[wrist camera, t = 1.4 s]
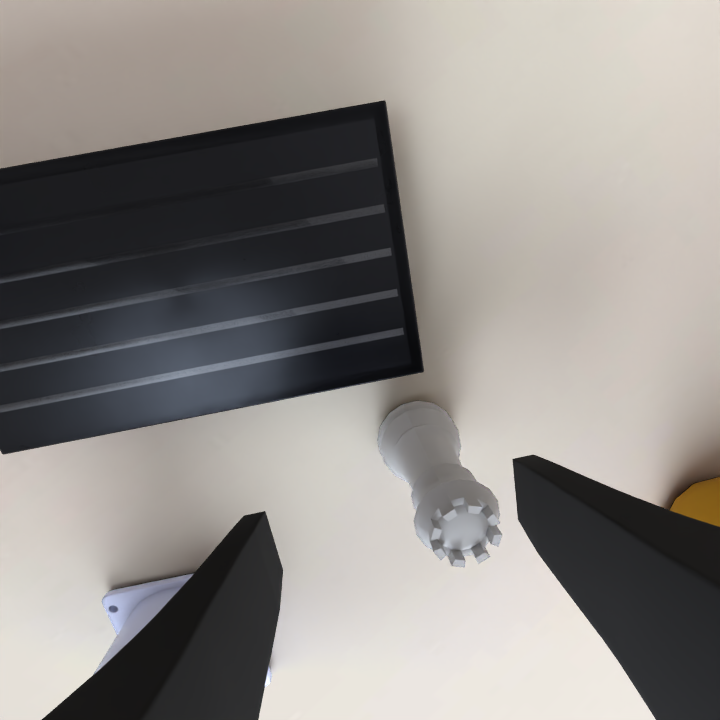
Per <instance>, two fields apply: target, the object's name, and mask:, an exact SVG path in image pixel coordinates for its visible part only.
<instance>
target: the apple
mask: <svg viewBox="0 0 720 720" xmlns="http://www.w3.org/2000/svg"><path fill="white" fill-rule="evenodd" d="M670 511H673V512H676V513H679V514H682V515H685V516H687V517H690V518H694V519H697V520H700V521H703V522H706V523H709V524H712V525H715V526H719V527H720V477H717V478H713V479H710V480H706V481H702V482H698V483H694V484H693V485H692V486H690V487H689V488H688V489H687V490H686V491H685V492H683V493H682V494H681V495H680V496H679V497H678V498H677V499H675V501H674V503H673V505H672V507H671V508H670Z"/></svg>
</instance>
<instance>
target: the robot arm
mask: <svg viewBox="0 0 720 720" xmlns="http://www.w3.org/2000/svg"><path fill="white" fill-rule="evenodd" d="M513 469H514V480H515V491H516V502H517V513H518V520H519V522H520V523H521V525H522V527H523V529H524V530H525V532H526V534H527V536H528V537H529V539H530V541H531V542H532V544H533V546H534V547H535V549H536V551H537V552H538V554H539V555H540V557H541V558H542V559H543V561H544V562H545V563H546V565H547V566H548V567H549V569H550V570H551V571H552V573H553V574H554V575H555V577H556V578H557V579H558V581H559V582H560V583H561V585H562V586H563V587H564V589H565V590H566V591H567V593H568V594H569V595H570V597H571V598H572V599H573V601H574V602H575V603H576V605H577V606H578V607H579V608H580V610H581V611H582V612H583V614H584V615H585V616H586V618H587V619H588V620H589V622H590V623H591V624H592V626H593V627H594V628H595V630H596V631H597V632H598V634H599V635H600V636H601V637H602V639H603V640H604V642H605V643H606V644H607V646H608V647H609V649H610V650H611V651H612V653H613V654H614V656H615V657H616V659H617V660H618V661H619V663H620V664H621V666H622V667H623V669H624V671H625V672H626V674H627V675H628V677H629V678H630V680H631V681H632V683H633V685H634V686H635V688H636V689H637V691H638V692H639V694H640V695H641V697H642V698H643V700H644V702H645V703H646V705H647V706H648V708H649V709H650V711H651V712H652V714H653V716H654V717H655V719H656V720H720V527H719V526H715V525H712V524H709V523H706V522H703V521H700V520H697V519H694V518H690V517H687V516H685V515H682V514H679V513H676V512H673V511H670V510H667V509H665V508H662V507H659V506H657V505H654V504H651V503H649V502H646V501H644V500H641V499H638V498H636V497H633V496H631V495H628V494H626V493H623V492H621V491H618V490H616V489H613V488H611V487H609V486H606V485H604V484H601V483H599V482H597V481H594V480H592V479H590V478H587V477H585V476H583V475H581V474H578V473H576V472H574V471H571V470H569V469H567V468H565V467H562V466H560V465H558V464H555V463H553V462H551V461H548V460H546V459H544V458H541V457H538V456H536V455H529V456H525V457H520V458H515V459H513ZM282 575H283V568H282V565H281V562H280V559H279V555H278V552H277V549H276V545H275V542H274V539H273V535H272V532H271V529H270V526H269V522H268V519H267V516H266V512H265V511H264V512H259V513H255V514H250V515H245V516H243V517H242V518H241V520H240V521H239V522H238V523H237V524H236V525H235V526H234V527H233V529H232V530H231V531H230V532H229V533H228V534H227V536H226V537H225V538H224V539H223V540H222V542H221V543H220V544H219V545H218V546H217V548H216V549H215V550H214V551H213V552H212V553H211V555H210V556H209V557H208V558H207V559H206V560H205V561H204V563H203V564H202V565H201V566H200V567H199V568H198V570H197V571H196V572H195V573H193V574H188V575H183V576H178V577H174V578H169V579H164V580H159V581H154V582H149V583H144V584H140V585H135V586H130V587H125V588H120V589H115V590H111V591H108V592H107V593H106V594H105V596H104V597H103V599H102V603H103V606H104V608H105V610H106V612H107V614H108V616H109V619H110V621H111V623H112V625H113V627H114V629H115V631H116V634H117V637H116V638H115V640H114V642H113V643H112V645H111V646H110V648H109V650H108V651H107V653H106V655H105V656H104V658H103V660H102V661H101V663H100V664H99V666H98V668H97V669H96V671H95V673H94V674H93V676H92V677H91V678H89V679H88V680H87V681H86V682H85V683H84V684H82V685H81V686H80V687H79V688H78V689H77V690H76V691H74V692H73V693H72V694H71V695H70V696H69V697H67V698H66V699H65V700H64V701H63V702H62V703H61V704H59V705H58V706H57V707H56V708H55V709H54V710H52V711H51V712H50V713H49V714H48V715H47V716H46V717H44V718H43V719H42V720H258V718H259V713H260V708H261V703H262V698H263V693H264V688H265V686H267V685H269V684H270V682H271V677H272V674H271V671H270V668H269V662H270V657H271V652H272V647H273V642H274V637H275V632H276V627H277V621H278V616H279V610H280V600H281V589H282Z"/></svg>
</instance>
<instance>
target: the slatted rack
mask: <svg viewBox="0 0 720 720" xmlns="http://www.w3.org/2000/svg"><path fill="white" fill-rule="evenodd" d="M422 372H424V367H423V360H422V353H421V346H420V339H419V332H418V325H417V318H416V311H415V304H414V297H413V290H412V283H411V276H410V269H409V262H408V255H407V248H406V241H405V234H404V227H403V220H402V213H401V206H400V199H399V192H398V184H397V177H396V170H395V163H394V156H393V149H392V142H391V135H390V128H389V121H388V114H387V107H386V102H385V101H379V102H373V103H368V104H362V105H356V106H351V107H345V108H339V109H334V110H328V111H323V112H317V113H311V114H306V115H300V116H294V117H289V118H283V119H277V120H272V121H266V122H261V123H255V124H249V125H244V126H238V127H232V128H227V129H221V130H215V131H210V132H204V133H198V134H193V135H187V136H182V137H176V138H170V139H165V140H159V141H153V142H148V143H142V144H136V145H131V146H125V147H120V148H114V149H108V150H103V151H97V152H91V153H86V154H80V155H74V156H69V157H63V158H58V159H52V160H46V161H41V162H35V163H29V164H24V165H18V166H12V167H7V168H1V169H0V451H1V453H2V454H8V453H13V452H19V451H24V450H29V449H34V448H39V447H44V446H49V445H54V444H59V443H64V442H70V441H75V440H80V439H85V438H90V437H95V436H100V435H105V434H110V433H115V432H121V431H126V430H131V429H136V428H141V427H146V426H151V425H156V424H161V423H167V422H172V421H177V420H182V419H187V418H192V417H197V416H202V415H207V414H212V413H218V412H223V411H228V410H233V409H238V408H243V407H248V406H253V405H258V404H263V403H269V402H274V401H279V400H284V399H289V398H294V397H299V396H304V395H309V394H314V393H320V392H325V391H330V390H335V389H340V388H345V387H350V386H355V385H360V384H366V383H371V382H376V381H381V380H386V379H391V378H396V377H401V376H406V375H411V374H417V373H422Z"/></svg>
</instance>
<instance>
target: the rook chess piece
mask: <svg viewBox="0 0 720 720" xmlns="http://www.w3.org/2000/svg"><path fill="white" fill-rule="evenodd" d="M377 441H378V445H379V449H380V453H381V455H382V457H383V460H384V463H385V464H386V465H387V466H388V468H389V469H390V470H391V472H392V473H393V474H394V475H395V476H397V477H399V478H400V479H402V480H404V481H406V482H408V483H409V485H410V486H411V488H412V495H411V497H412V501H413V506H414V508H415V509H416V514H415V518H414V524H415V529H416V533H417V536H418V537H419V538H420V540H421V541H422V542H423V543H424V545H425V546H426V547H428V548H430V549H432V550H433V552H434V553H435V554H436V555H437V557H438V558H439V559H440V560H442V559H443V558H444V557H445V556H446V555H447V556H448V558H449V560H450V563H451V565H452V566H456V567H465V559H464V556H467V555H471V554H474V556H475V558H476V560H477V562H478V564H479V563H481V562H483V561H484V560H486V559H487V558H489V557H490V556H489V554H488V552H487V550H486V548H485V546H486V545H487V543H488V542H489V541H490V543H491V544H492V545H495V546H499V543H500V540H501V537H502V534H501V532H500V531H499V529H498V527H497V524H499V523H500V522H499V516H500V513H499V506H498V500H497V499H496V498H495V496H494V495H493V493H492V492H491V490H490V489H489V488H487V487H485V486H484V485H482V484H480V483H478V482H476V479H475V478H474V476H473V475H472V473H471V472H470V471H469V470H468V469H466V468H464V467H462V465H461V463H460V460H459V455H460V449H461V444H460V438H459V432H458V429H457V427H456V426H455V424H454V422H453V420H452V419H451V417H450V416H449V414H448V413H447V412H446V410H444V409H442V408H441V407H439V406H437V405H436V404H434V403H431V402H424V401H414V402H410V403H406V404H402V405H400V406H399V407H398V408H396V409H395V410H393V411H392V412H390V413H389V414H388V415H387V417H386V418H385V420H384V421H383V423H382V424H381V426H380V430H379V435H378V440H377Z"/></svg>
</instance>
